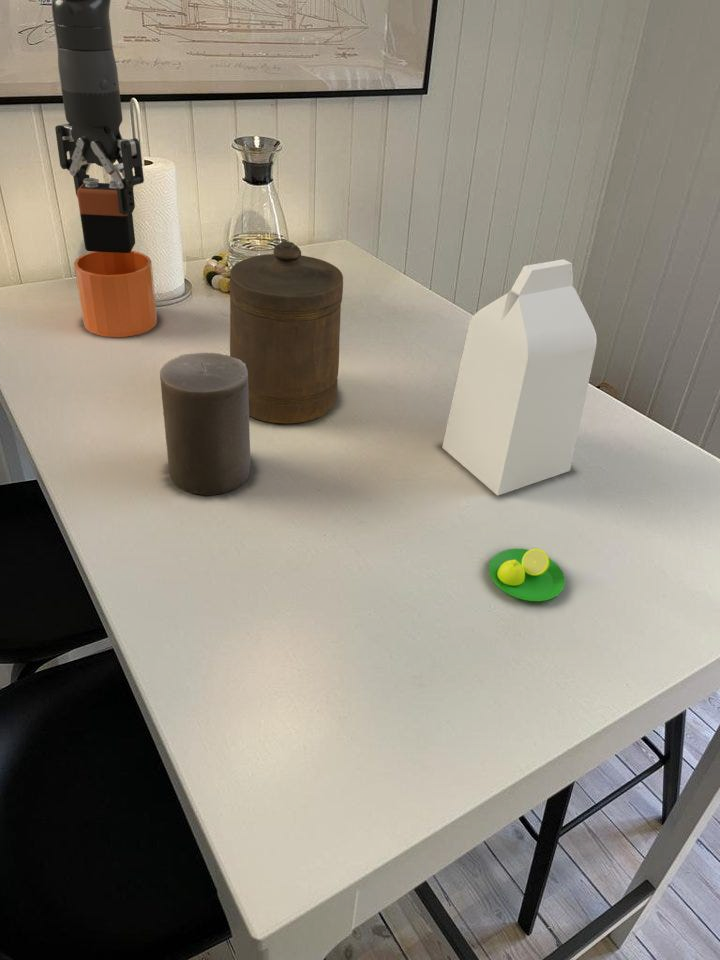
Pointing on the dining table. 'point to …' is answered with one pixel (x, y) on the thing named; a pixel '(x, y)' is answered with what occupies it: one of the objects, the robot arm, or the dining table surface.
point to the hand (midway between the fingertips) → (105, 207)
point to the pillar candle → (206, 422)
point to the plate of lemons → (527, 574)
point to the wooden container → (287, 333)
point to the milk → (523, 381)
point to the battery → (104, 218)
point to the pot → (116, 293)
